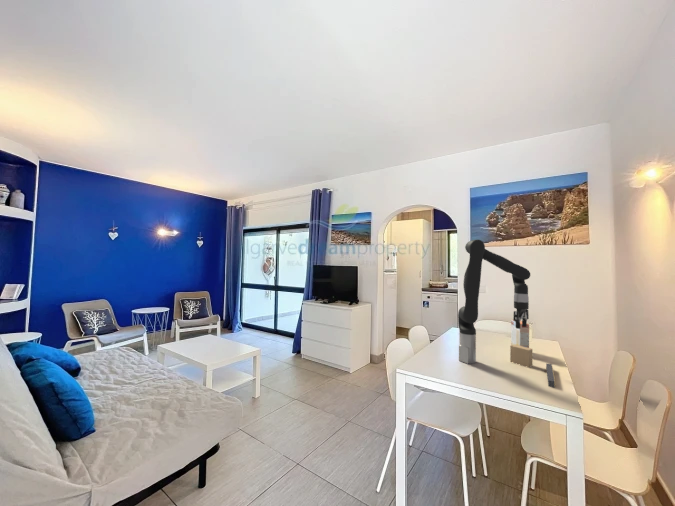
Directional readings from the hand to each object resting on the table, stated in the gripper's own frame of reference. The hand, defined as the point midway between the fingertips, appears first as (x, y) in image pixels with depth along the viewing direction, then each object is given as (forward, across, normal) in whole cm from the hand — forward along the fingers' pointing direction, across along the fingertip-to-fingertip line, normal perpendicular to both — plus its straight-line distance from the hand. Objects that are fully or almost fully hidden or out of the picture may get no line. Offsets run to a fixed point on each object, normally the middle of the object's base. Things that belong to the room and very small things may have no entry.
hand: (521, 327), depth 168 cm
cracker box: (+22, -22, -10) cm, 33 cm away
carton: (+22, 0, 0) cm, 22 cm away
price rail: (+22, +8, +18) cm, 29 cm away
